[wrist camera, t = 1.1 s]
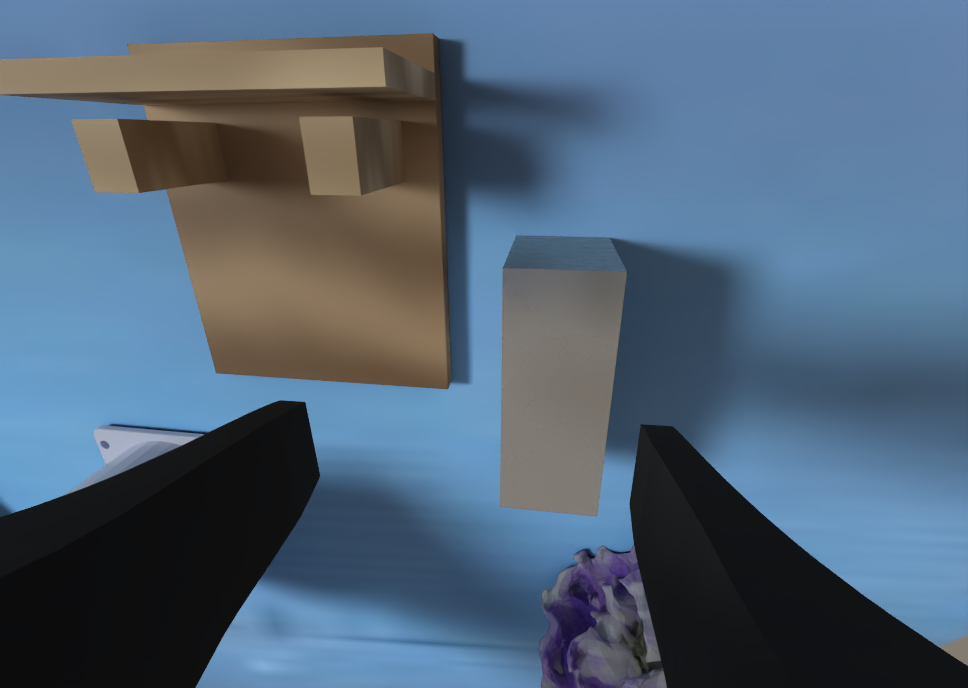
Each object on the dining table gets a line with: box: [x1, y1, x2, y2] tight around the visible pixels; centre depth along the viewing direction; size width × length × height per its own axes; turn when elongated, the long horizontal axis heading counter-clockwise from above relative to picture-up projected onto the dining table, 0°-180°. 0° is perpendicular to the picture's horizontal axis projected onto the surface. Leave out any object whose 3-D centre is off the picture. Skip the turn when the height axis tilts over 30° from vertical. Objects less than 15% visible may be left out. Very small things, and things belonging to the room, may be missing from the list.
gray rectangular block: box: [500, 235, 627, 516], centre depth 17 cm, size 9×4×5 cm, turn 0°
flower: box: [539, 546, 667, 688], centre depth 21 cm, size 9×8×10 cm
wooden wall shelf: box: [0, 34, 452, 389], centre depth 16 cm, size 13×11×6 cm
